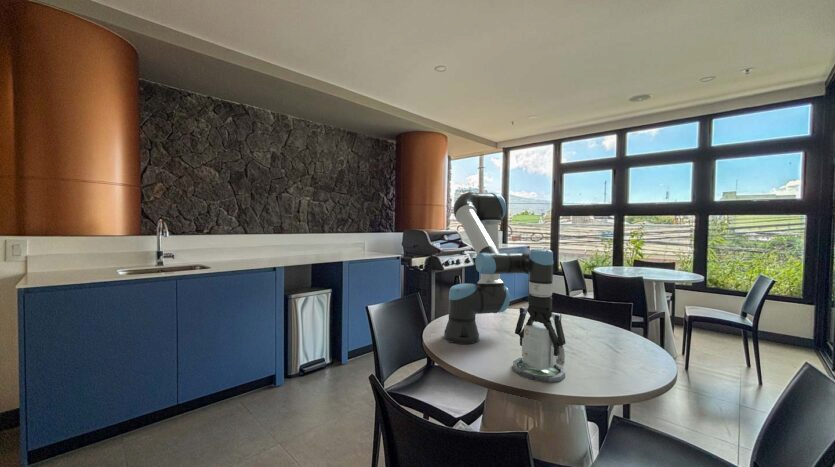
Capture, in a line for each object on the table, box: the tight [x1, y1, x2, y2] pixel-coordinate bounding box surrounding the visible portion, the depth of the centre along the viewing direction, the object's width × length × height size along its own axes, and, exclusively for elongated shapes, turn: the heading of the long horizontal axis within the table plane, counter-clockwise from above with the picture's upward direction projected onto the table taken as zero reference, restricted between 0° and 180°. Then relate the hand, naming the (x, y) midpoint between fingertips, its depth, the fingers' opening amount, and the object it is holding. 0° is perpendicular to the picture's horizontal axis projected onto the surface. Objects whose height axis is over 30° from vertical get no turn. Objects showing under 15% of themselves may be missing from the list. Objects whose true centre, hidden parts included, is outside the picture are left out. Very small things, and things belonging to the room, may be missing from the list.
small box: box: [522, 322, 556, 371], centre depth 114 cm, size 8×6×13 cm
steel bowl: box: [512, 357, 566, 384], centre depth 114 cm, size 16×16×2 cm
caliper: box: [557, 345, 566, 362], centre depth 132 cm, size 20×1×6 cm, turn 9°
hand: (538, 360), depth 114 cm, fingers closed on small box, 9 cm apart
